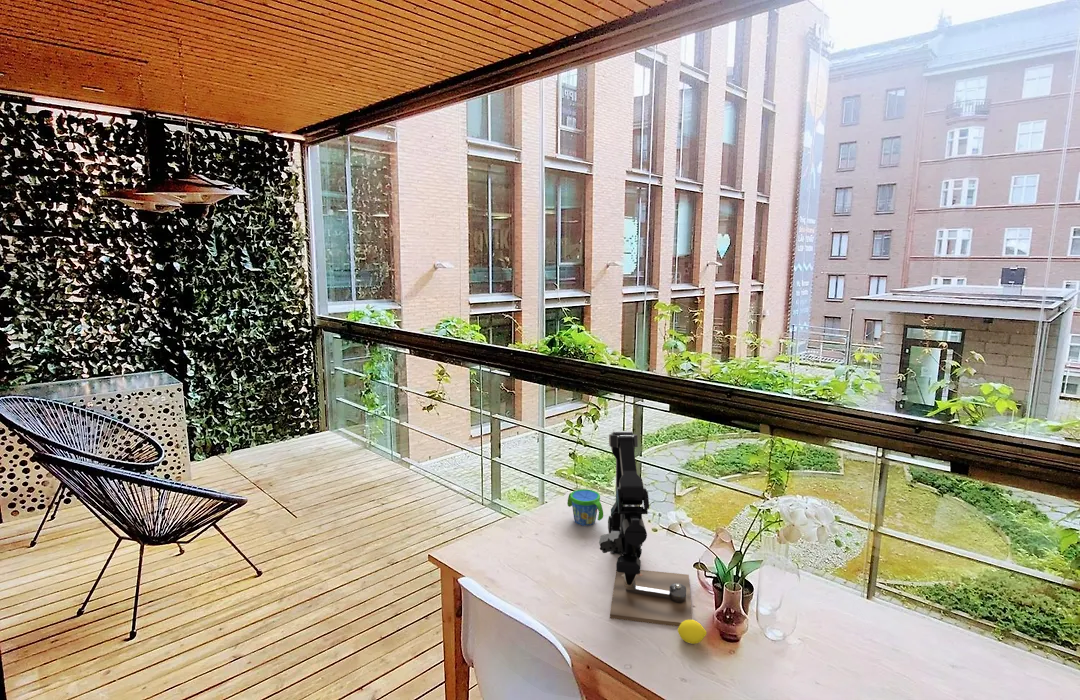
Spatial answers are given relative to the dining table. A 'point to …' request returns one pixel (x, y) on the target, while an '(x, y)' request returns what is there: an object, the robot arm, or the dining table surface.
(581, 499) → the snack cup
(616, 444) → the robot arm
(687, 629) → the lemon
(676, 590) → the lever
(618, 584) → the board
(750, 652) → the dining table surface
